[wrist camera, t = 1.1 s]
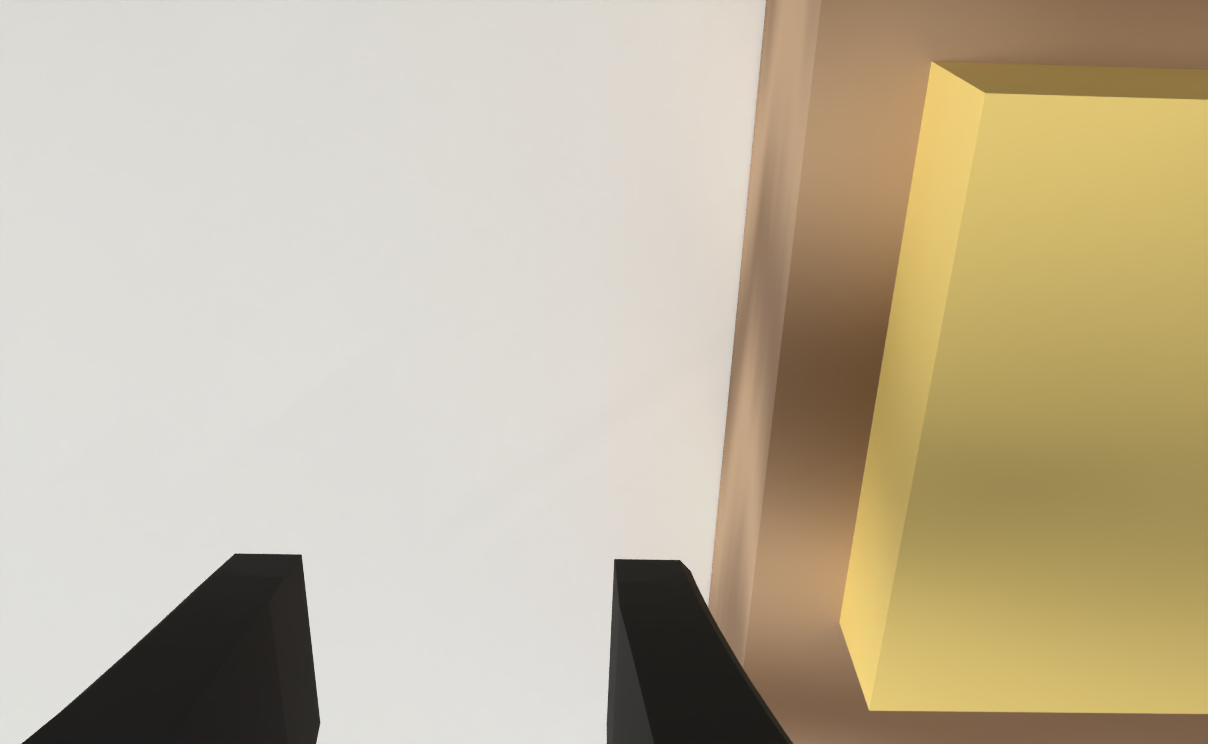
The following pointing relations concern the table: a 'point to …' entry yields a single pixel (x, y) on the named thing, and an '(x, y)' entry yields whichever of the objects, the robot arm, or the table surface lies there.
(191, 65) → the table surface
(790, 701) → the brown wooden block
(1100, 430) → the flat yellow block
